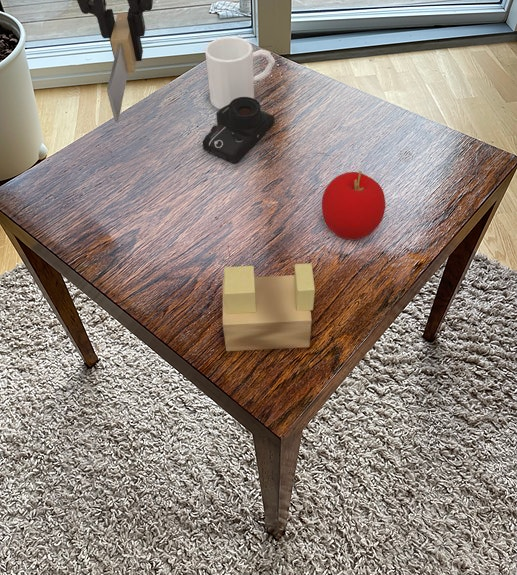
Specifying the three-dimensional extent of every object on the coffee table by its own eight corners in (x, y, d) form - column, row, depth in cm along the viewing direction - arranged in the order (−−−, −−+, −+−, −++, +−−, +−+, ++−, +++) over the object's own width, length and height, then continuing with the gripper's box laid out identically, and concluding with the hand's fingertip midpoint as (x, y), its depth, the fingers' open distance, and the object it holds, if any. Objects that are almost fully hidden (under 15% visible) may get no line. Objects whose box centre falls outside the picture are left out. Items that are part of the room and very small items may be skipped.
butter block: (226, 314, 68) (224, 293, 65) (226, 287, 71) (224, 266, 68) (256, 312, 68) (255, 292, 65) (254, 286, 71) (253, 265, 68)
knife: (124, 45, 88) (117, 13, 84) (140, 45, 88) (133, 12, 84) (107, 121, 75) (97, 86, 71) (125, 120, 75) (117, 85, 71)
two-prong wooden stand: (226, 351, 72) (222, 324, 67) (225, 306, 76) (222, 278, 72) (309, 347, 72) (311, 320, 67) (304, 302, 76) (306, 274, 72)
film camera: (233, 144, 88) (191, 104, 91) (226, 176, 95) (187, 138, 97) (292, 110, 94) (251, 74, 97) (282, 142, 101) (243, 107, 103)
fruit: (393, 234, 83) (405, 182, 76) (342, 258, 81) (349, 207, 73) (356, 197, 89) (364, 144, 81) (307, 218, 86) (310, 166, 78)
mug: (278, 107, 103) (278, 56, 96) (211, 113, 103) (206, 63, 95) (272, 82, 108) (272, 32, 101) (209, 88, 108) (203, 38, 100)
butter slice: (296, 311, 68) (297, 290, 65) (293, 284, 71) (294, 263, 68) (313, 310, 68) (314, 289, 65) (310, 284, 71) (311, 263, 68)
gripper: (155, -146, 69) (182, 40, 87) (27, -140, 69) (80, 45, 87) (151, -124, 64) (180, 68, 83) (13, -118, 64) (73, 73, 83)
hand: (129, 56), depth 85 cm, fingers closed on knife, 2 cm apart
